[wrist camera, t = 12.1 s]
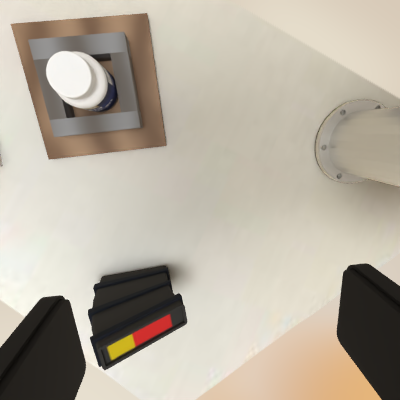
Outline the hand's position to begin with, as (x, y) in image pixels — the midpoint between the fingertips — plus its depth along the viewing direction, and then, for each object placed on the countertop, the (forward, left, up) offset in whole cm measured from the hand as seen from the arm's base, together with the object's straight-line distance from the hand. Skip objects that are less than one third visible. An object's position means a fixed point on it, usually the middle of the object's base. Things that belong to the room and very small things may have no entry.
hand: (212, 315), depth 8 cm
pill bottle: (+9, -12, -29) cm, 33 cm away
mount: (+10, -12, -30) cm, 34 cm away
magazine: (+9, +17, -31) cm, 36 cm away
